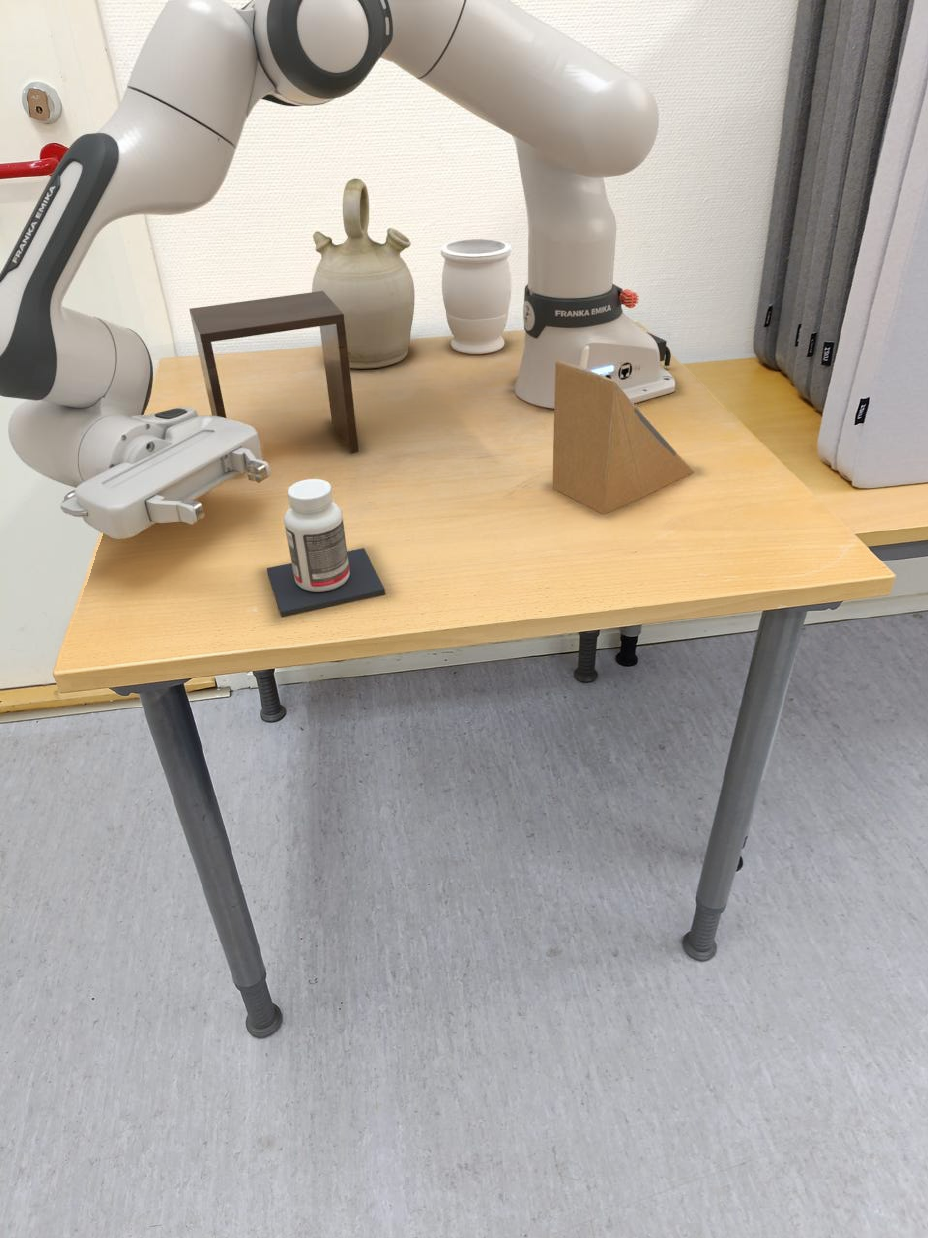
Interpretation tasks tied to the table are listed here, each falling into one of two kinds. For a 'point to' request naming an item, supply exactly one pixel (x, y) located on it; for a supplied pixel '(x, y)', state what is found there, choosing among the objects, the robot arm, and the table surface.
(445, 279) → the jar
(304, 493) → the pill bottle
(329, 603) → the pad
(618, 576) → the table surface
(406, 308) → the jug
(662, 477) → the sandwich container
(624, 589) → the table surface
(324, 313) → the arch
